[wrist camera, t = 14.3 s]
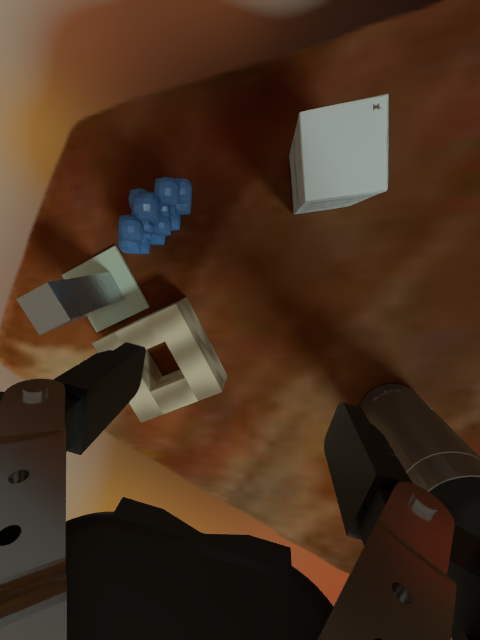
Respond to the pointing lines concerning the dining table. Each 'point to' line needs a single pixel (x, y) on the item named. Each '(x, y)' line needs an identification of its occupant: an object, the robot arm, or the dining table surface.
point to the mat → (126, 283)
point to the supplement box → (340, 154)
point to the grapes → (154, 214)
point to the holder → (187, 349)
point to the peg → (69, 300)
